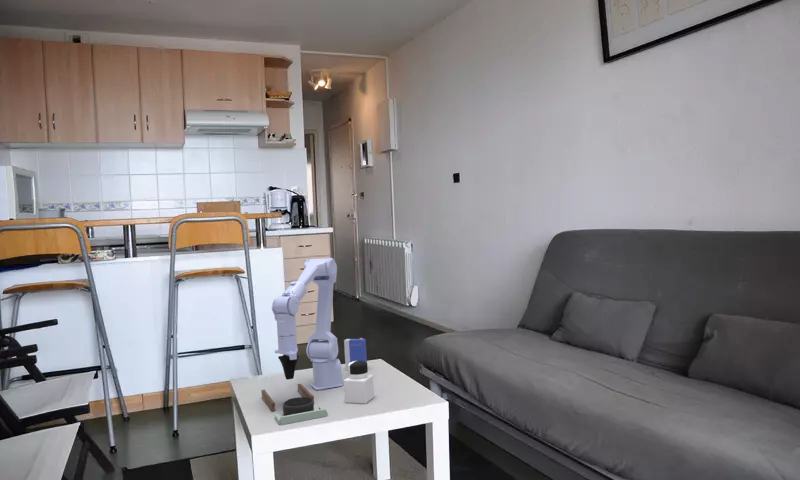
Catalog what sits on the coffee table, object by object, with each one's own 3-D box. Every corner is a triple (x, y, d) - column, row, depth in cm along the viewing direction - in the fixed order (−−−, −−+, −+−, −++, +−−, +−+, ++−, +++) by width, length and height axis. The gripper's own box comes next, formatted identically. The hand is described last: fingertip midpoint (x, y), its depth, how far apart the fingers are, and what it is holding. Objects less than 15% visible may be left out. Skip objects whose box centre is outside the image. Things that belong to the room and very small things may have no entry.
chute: (300, 391, 190) (300, 383, 189) (314, 404, 174) (313, 396, 174) (261, 397, 184) (261, 389, 184) (271, 411, 169) (271, 403, 169)
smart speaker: (277, 418, 163) (276, 404, 163) (293, 408, 171) (293, 395, 171) (304, 420, 160) (303, 406, 160) (319, 410, 168) (318, 397, 168)
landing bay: (321, 409, 168) (321, 403, 168) (328, 416, 162) (327, 409, 162) (274, 418, 162) (274, 411, 162) (279, 425, 156) (279, 418, 156)
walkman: (367, 369, 215) (365, 337, 215) (365, 371, 212) (363, 339, 212) (347, 369, 217) (346, 338, 217) (345, 370, 214) (343, 339, 214)
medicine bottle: (374, 397, 178) (372, 359, 178) (365, 404, 171) (363, 364, 171) (353, 396, 180) (351, 358, 180) (344, 403, 174) (342, 364, 173)
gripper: (269, 333, 179) (272, 375, 179) (278, 340, 165) (281, 386, 166) (291, 330, 182) (294, 372, 182) (302, 337, 168) (305, 382, 169)
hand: (289, 378), depth 174 cm, fingers closed
